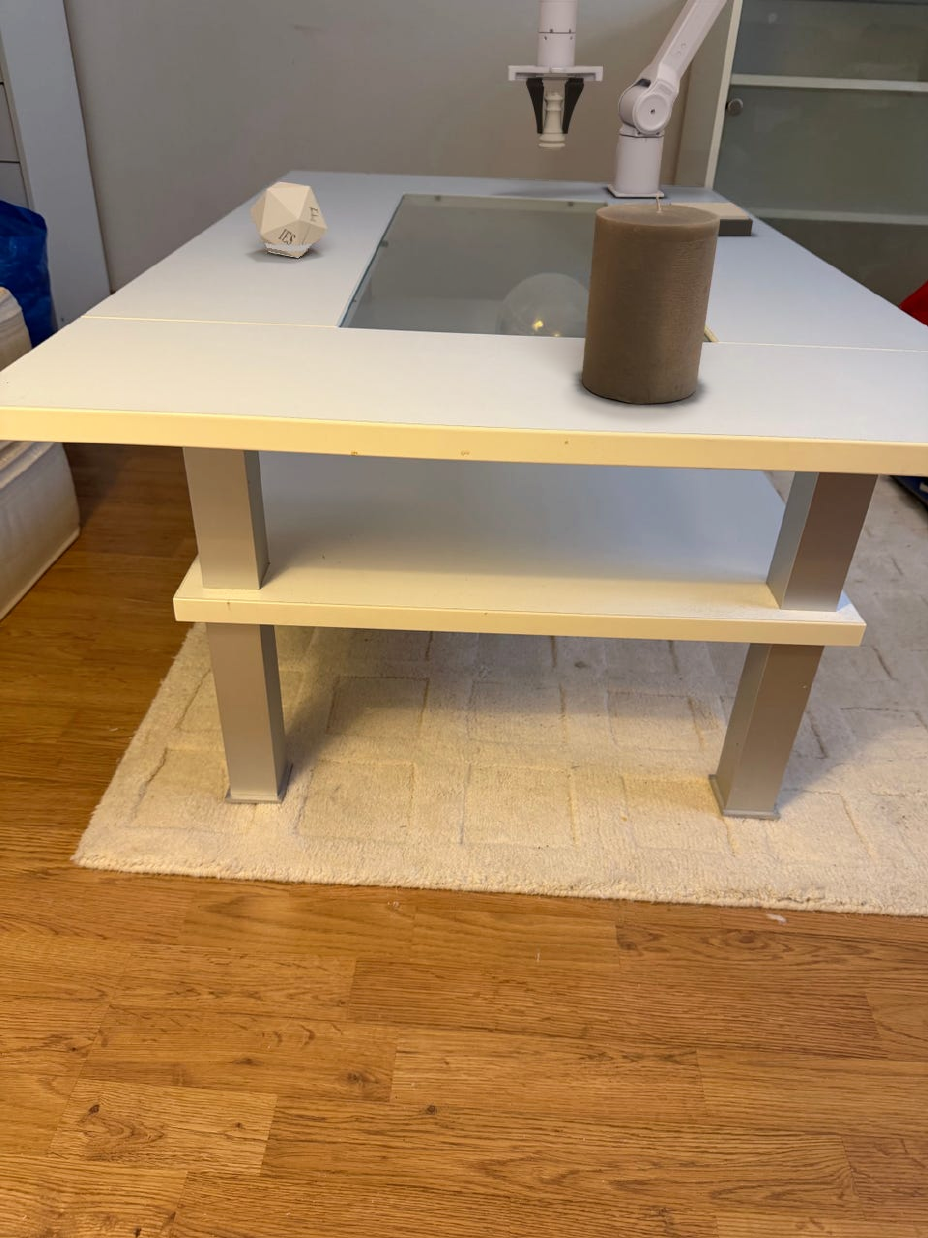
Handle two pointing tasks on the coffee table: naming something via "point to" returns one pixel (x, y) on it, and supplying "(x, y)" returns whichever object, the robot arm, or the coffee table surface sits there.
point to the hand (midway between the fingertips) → (552, 132)
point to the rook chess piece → (552, 123)
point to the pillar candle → (648, 300)
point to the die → (288, 217)
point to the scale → (727, 218)
